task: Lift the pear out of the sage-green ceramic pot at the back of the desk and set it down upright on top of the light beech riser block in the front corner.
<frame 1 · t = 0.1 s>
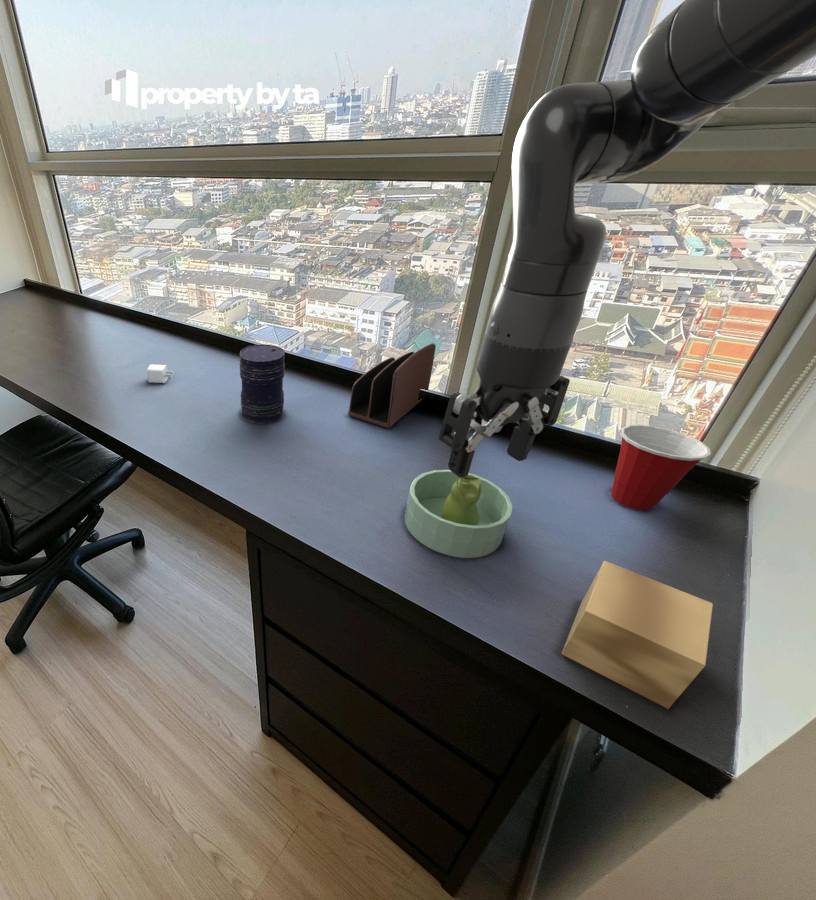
hand: (487, 465, 57), 20 cm above the table, tool pointing down, fingers open, 8 cm apart
letter holder: (388, 406, 111), on the table
usb wall charger: (163, 381, 130), on the table
riser: (649, 607, 53), on the table
pot: (451, 525, 77), on the table
dark blue canister: (262, 413, 112), on the table
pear: (456, 530, 76), resting on pot
plastic cup: (632, 500, 80), on the table
smoothie: (490, 428, 101), on the table
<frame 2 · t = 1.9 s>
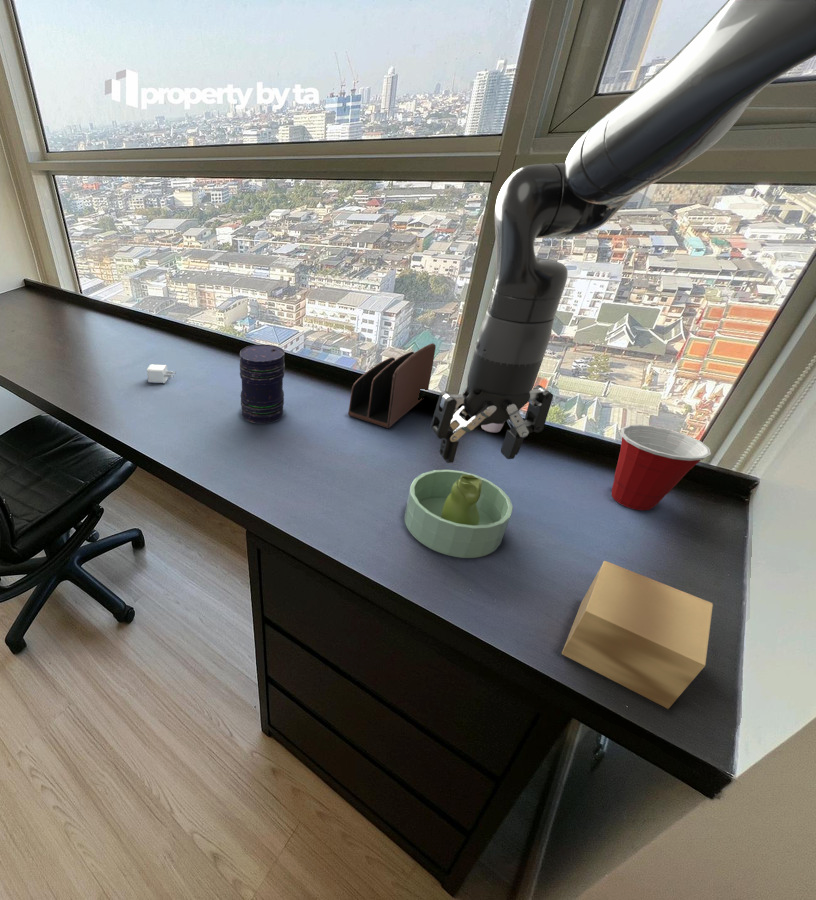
hand: (477, 457, 68), 14 cm above the table, tool pointing down, fingers open, 8 cm apart
nothing on the table moved.
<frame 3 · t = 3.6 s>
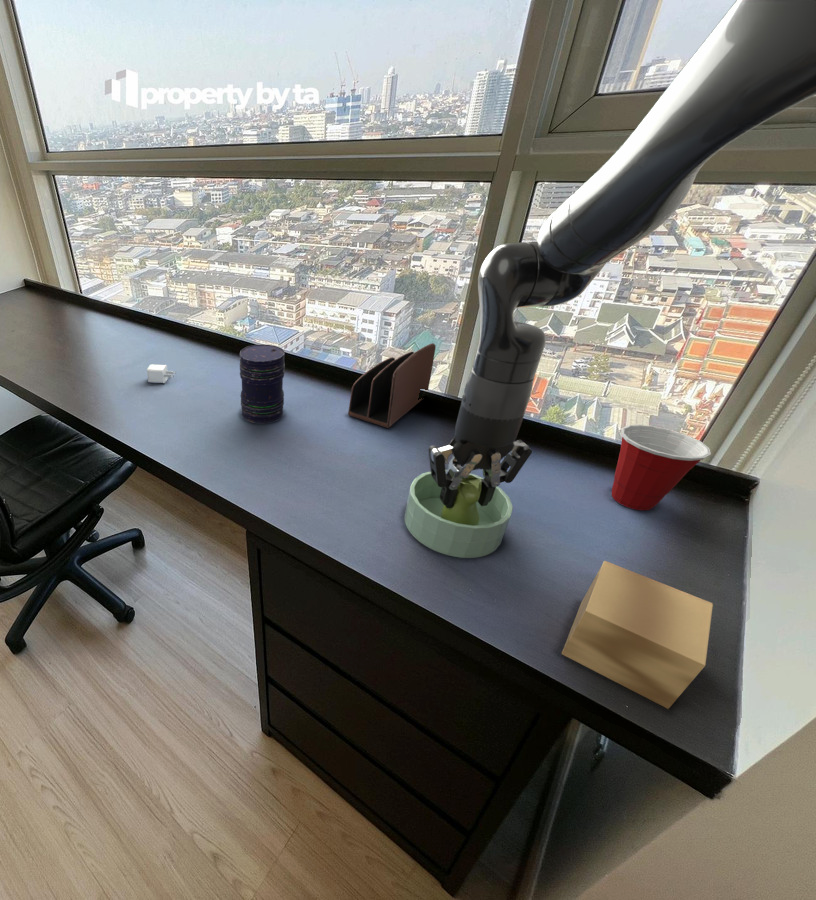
hand: (464, 503, 73), 6 cm above the table, tool pointing down, fingers closed on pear, 4 cm apart
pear: (456, 530, 76), resting on pot, touching gripper
everything else where it was.
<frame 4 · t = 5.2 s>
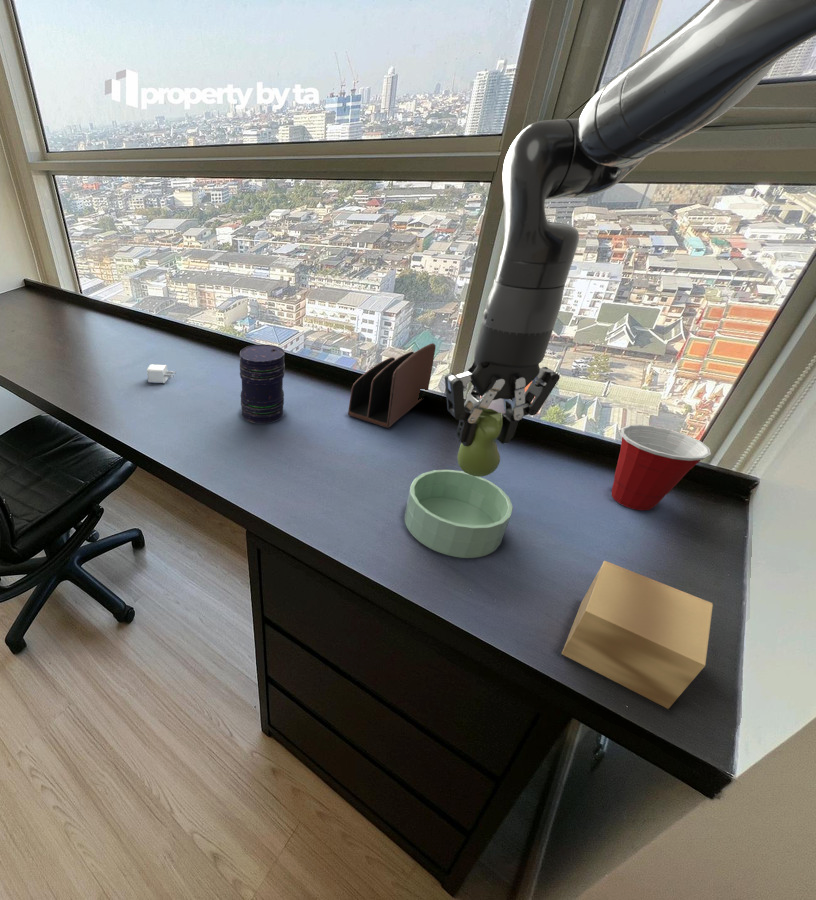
hand: (483, 441, 66), 17 cm above the table, tool pointing down, fingers closed on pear, 4 cm apart
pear: (473, 473, 69), point 12 cm above the table, touching gripper
everything else where it was.
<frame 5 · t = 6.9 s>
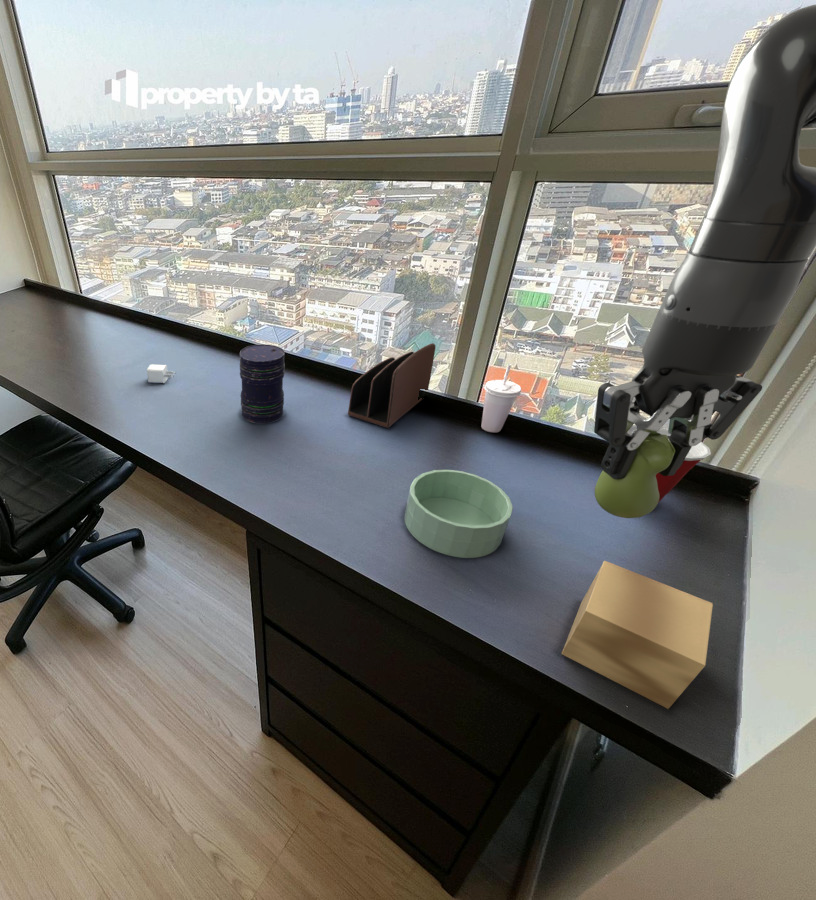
hand: (636, 472, 50), 23 cm above the table, tool pointing down, fingers closed on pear, 4 cm apart
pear: (616, 513, 53), point 17 cm above the table, touching gripper
everything else where it was.
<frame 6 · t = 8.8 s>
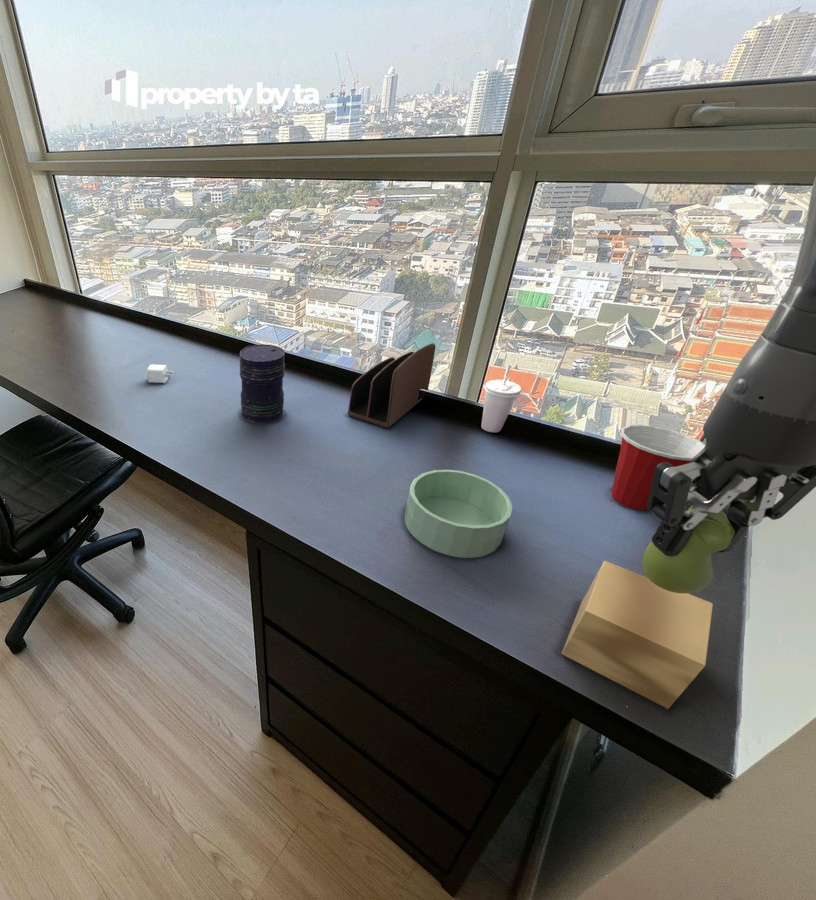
hand: (689, 547, 48), 17 cm above the table, tool pointing down, fingers closed on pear, 4 cm apart
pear: (664, 584, 51), point 12 cm above the table, touching gripper
everything else where it was.
when the fingers open (13 cm above the table, at t = 10.3 s): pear stays where it is, resting on riser.
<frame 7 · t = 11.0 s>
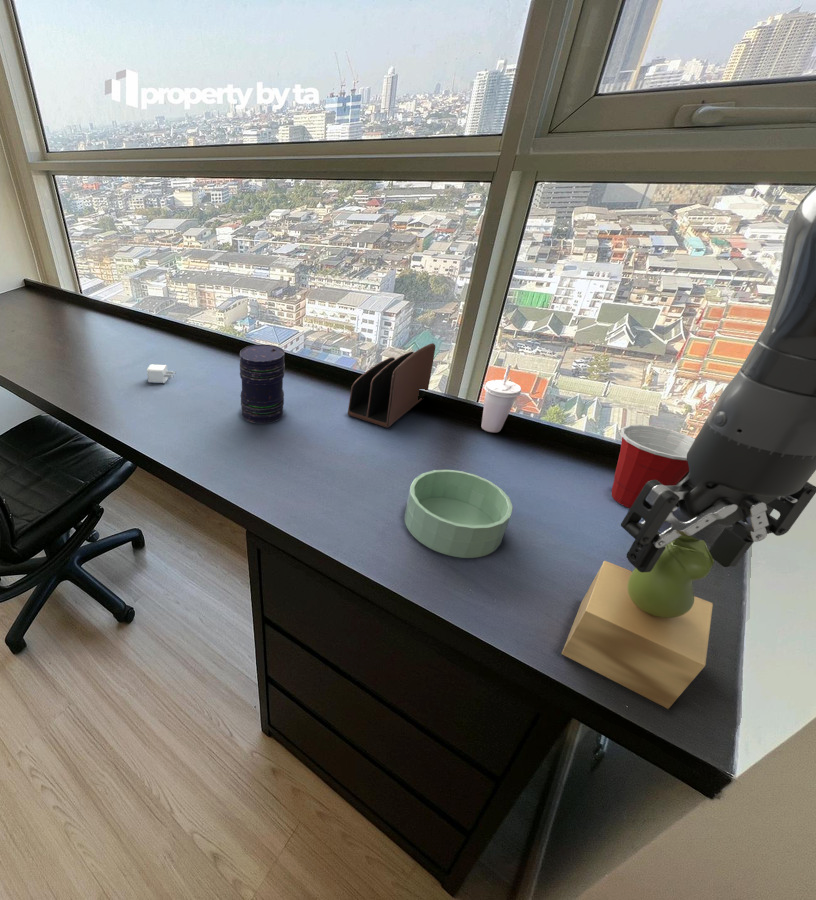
hand: (678, 563, 49), 15 cm above the table, tool pointing down, fingers open, 8 cm apart
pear: (648, 608, 53), point 8 cm above the table, touching riser
everything else where it was.
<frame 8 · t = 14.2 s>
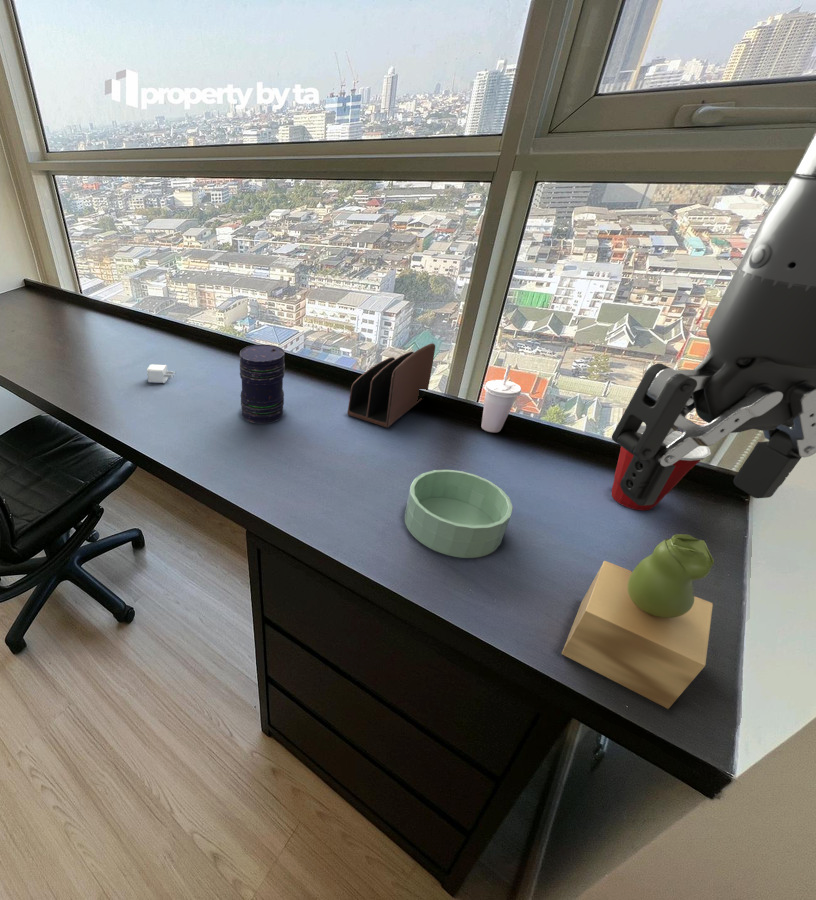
hand: (692, 495, 36), 30 cm above the table, tool pointing down, fingers open, 8 cm apart
nothing on the table moved.
at the end: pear inside the target area on the riser (0.0 cm from its centre), point 0.0 cm above the riser's base; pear tilted 0°; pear touching riser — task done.
